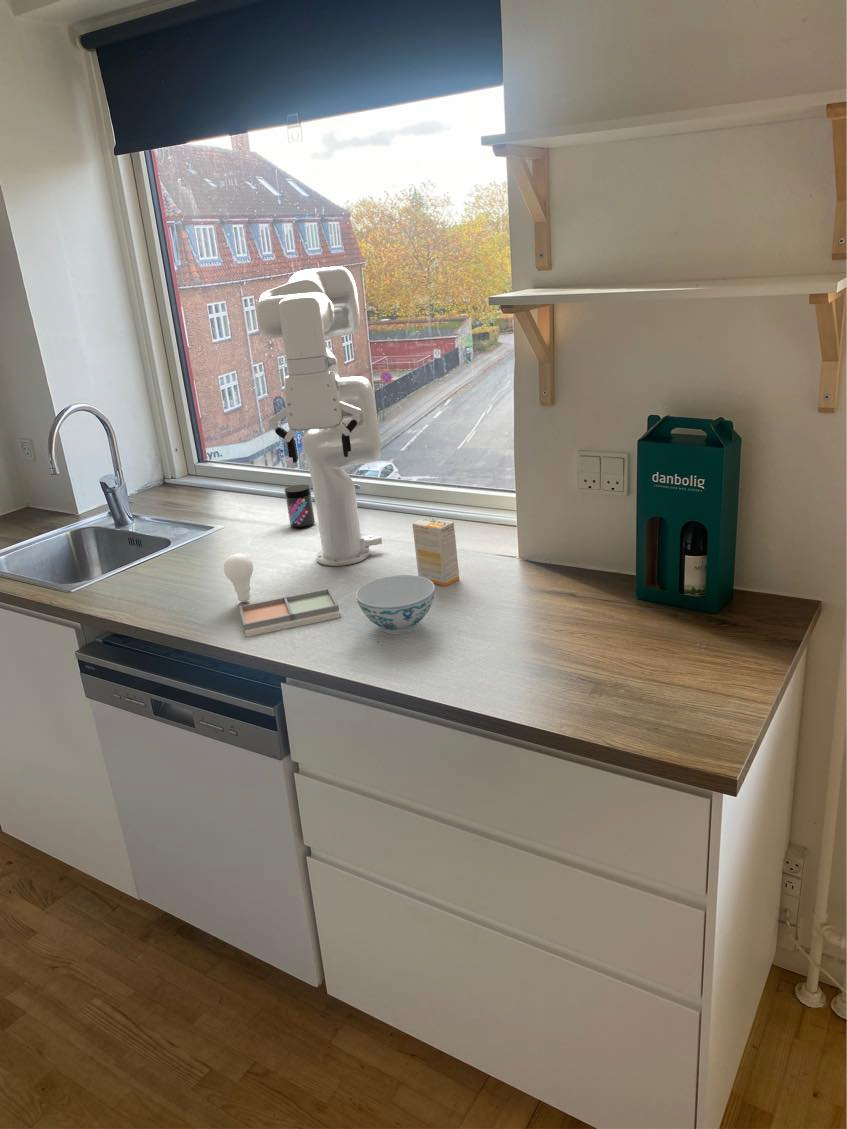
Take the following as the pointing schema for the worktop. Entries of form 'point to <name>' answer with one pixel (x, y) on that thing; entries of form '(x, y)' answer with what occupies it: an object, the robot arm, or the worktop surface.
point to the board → (289, 612)
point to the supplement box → (436, 550)
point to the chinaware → (396, 601)
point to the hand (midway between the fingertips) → (321, 458)
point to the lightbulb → (239, 574)
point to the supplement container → (300, 506)
